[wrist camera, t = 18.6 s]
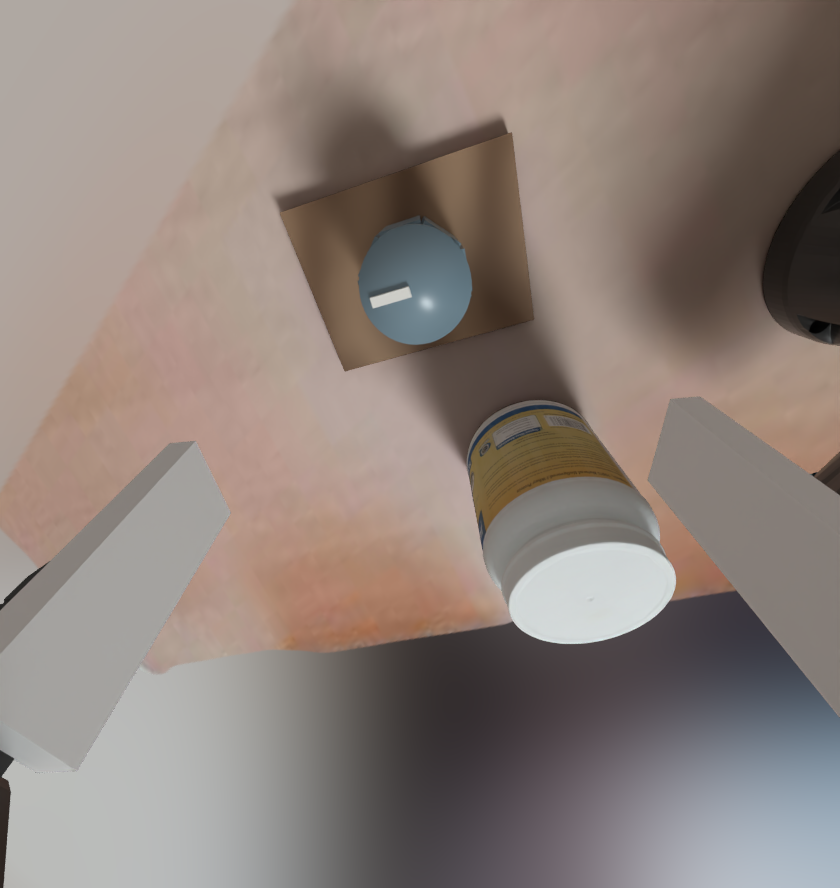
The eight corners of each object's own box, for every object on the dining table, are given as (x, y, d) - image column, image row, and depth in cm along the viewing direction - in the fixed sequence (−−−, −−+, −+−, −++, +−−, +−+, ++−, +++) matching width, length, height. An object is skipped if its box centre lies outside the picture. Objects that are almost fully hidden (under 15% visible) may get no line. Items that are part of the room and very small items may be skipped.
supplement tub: (439, 452, 38) (452, 602, 24) (537, 367, 34) (624, 492, 19) (517, 514, 43) (566, 671, 29) (613, 447, 38) (729, 595, 24)
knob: (449, 205, 26) (458, 207, 20) (469, 302, 30) (482, 329, 23) (358, 235, 27) (340, 246, 21) (387, 325, 31) (379, 358, 24)
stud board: (508, 134, 25) (529, 120, 20) (530, 316, 31) (550, 336, 27) (283, 212, 27) (256, 215, 23) (346, 367, 33) (334, 394, 29)
